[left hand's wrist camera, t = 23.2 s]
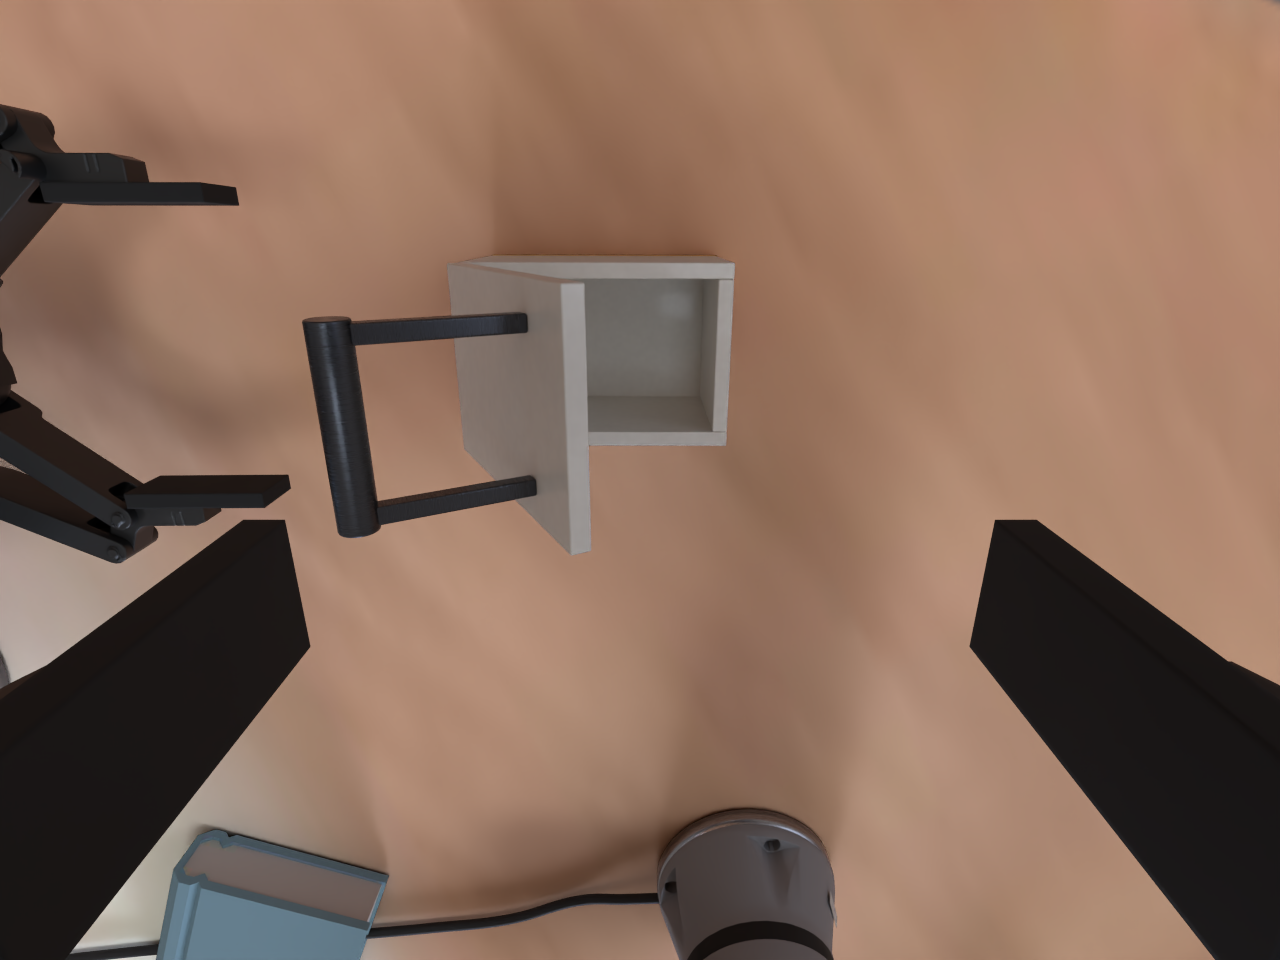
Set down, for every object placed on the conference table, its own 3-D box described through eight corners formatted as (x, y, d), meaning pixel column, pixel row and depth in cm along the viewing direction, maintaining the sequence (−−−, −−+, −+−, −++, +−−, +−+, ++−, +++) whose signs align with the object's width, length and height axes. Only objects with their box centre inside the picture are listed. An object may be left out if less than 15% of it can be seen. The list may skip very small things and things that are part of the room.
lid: (585, 281, 21) (304, 293, 18) (592, 551, 25) (356, 607, 21) (463, 262, 33) (279, 266, 29) (479, 447, 36) (315, 471, 33)
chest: (715, 255, 42) (735, 262, 33) (710, 405, 45) (726, 446, 37) (494, 254, 42) (457, 261, 33) (504, 404, 45) (473, 445, 37)
